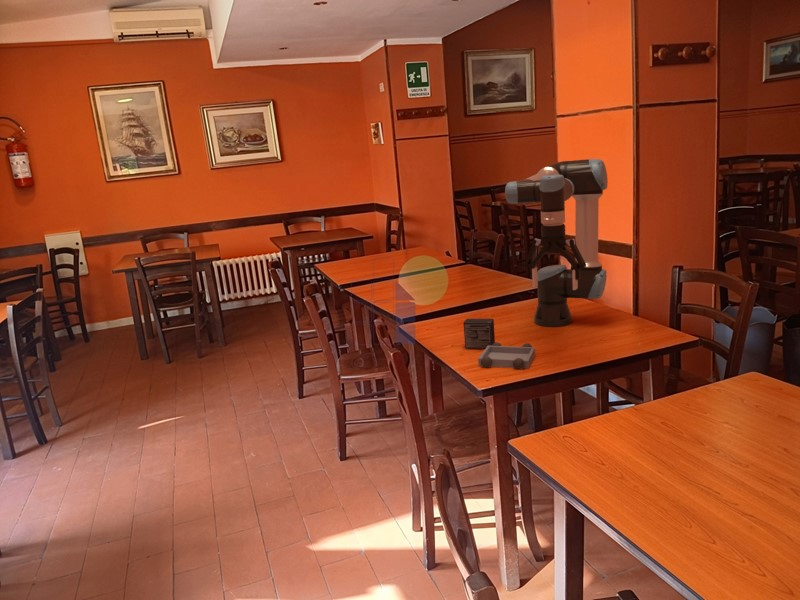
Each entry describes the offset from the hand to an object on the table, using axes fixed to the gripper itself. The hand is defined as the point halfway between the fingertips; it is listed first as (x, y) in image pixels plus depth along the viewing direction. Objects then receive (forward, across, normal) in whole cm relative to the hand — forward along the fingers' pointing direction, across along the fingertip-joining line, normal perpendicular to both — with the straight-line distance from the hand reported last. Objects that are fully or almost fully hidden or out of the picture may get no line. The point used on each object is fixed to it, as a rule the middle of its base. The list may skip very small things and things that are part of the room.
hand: (554, 288), depth 198 cm
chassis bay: (+26, -16, -5) cm, 31 cm away
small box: (+26, -31, +5) cm, 41 cm away
